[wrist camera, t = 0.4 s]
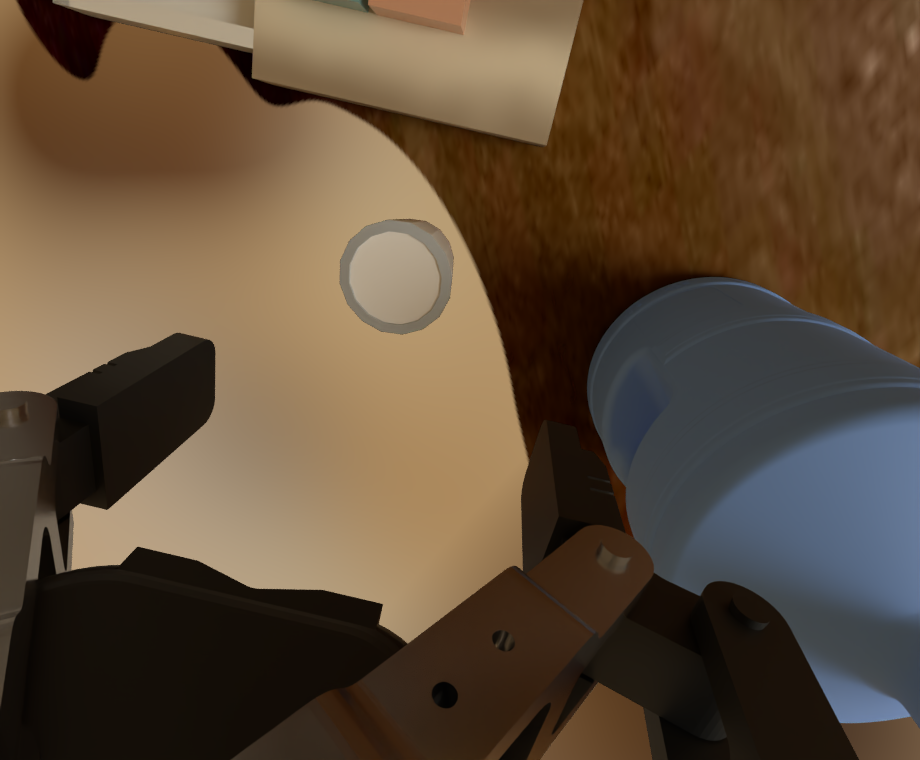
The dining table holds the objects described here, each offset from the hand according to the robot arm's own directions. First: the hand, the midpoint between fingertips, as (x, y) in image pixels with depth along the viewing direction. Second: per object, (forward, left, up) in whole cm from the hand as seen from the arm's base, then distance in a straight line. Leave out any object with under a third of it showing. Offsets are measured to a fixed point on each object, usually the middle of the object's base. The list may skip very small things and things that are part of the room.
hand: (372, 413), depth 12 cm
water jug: (+6, +19, -26) cm, 33 cm away
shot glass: (+2, -3, -26) cm, 26 cm away
